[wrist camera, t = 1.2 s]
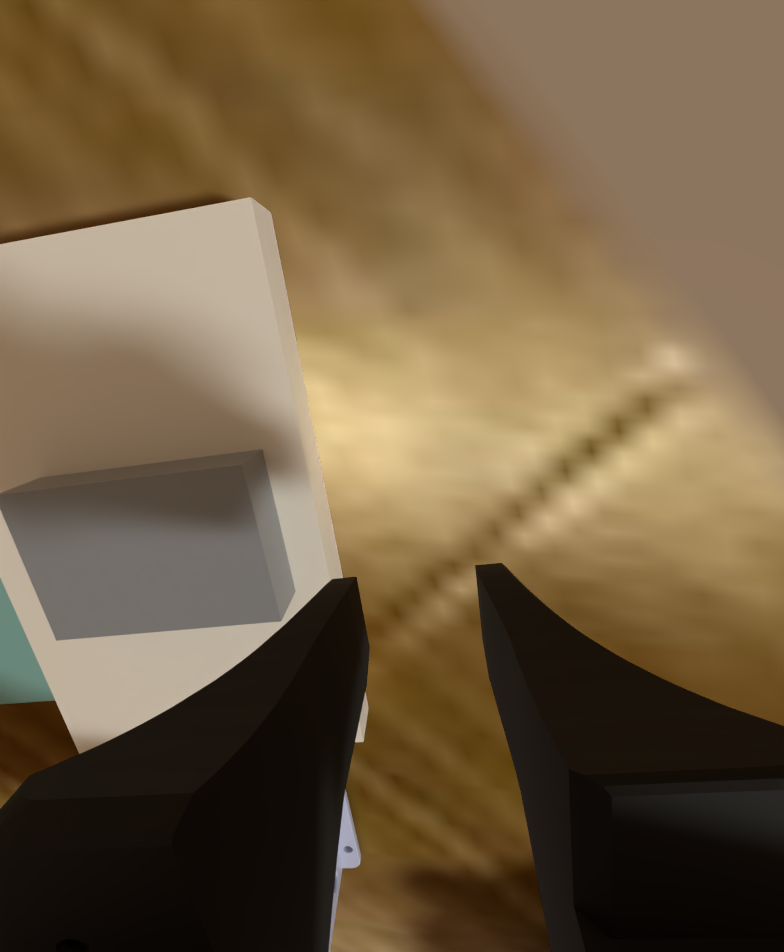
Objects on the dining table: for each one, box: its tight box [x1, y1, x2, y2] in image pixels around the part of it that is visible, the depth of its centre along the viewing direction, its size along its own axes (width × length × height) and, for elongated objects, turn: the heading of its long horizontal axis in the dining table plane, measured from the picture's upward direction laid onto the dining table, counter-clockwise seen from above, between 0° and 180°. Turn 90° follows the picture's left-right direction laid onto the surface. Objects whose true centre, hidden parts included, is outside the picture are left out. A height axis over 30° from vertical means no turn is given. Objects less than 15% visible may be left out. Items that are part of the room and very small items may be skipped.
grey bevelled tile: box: [0, 449, 296, 641], centre depth 17 cm, size 6×9×2 cm, turn 98°
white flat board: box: [0, 197, 368, 754], centre depth 19 cm, size 22×14×2 cm, turn 8°
